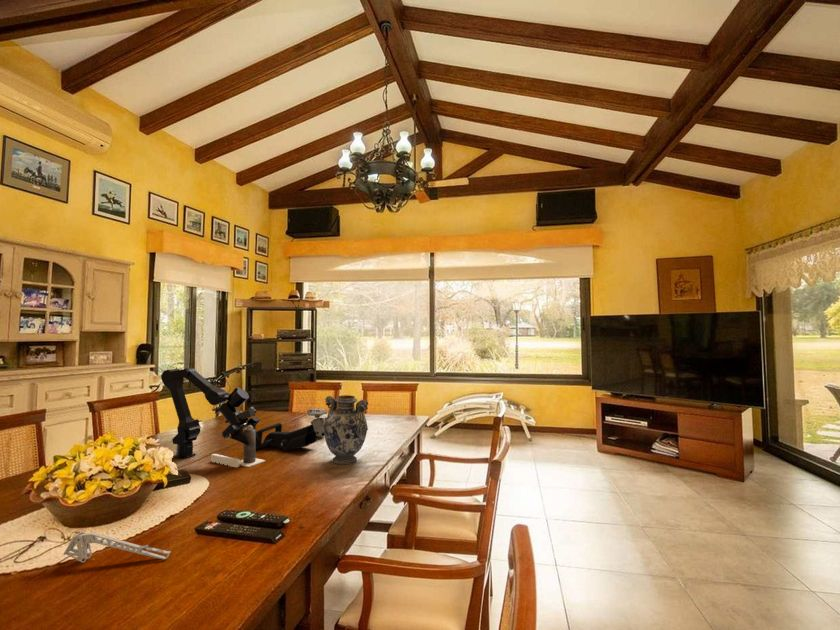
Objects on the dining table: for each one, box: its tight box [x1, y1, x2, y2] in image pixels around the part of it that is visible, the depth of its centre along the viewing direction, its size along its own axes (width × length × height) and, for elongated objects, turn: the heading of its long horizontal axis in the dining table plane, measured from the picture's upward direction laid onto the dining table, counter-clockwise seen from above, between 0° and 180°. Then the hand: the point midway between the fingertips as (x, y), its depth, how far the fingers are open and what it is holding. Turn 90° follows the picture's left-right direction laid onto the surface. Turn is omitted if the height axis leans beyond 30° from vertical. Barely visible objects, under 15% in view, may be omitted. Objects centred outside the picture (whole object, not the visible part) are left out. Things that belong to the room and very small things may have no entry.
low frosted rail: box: [210, 453, 240, 468], centre depth 170 cm, size 15×2×3 cm, turn 64°
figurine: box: [302, 407, 328, 439], centre depth 217 cm, size 9×12×15 cm
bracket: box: [62, 530, 172, 564], centre depth 99 cm, size 3×21×10 cm, turn 95°
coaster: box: [239, 457, 266, 468], centre depth 172 cm, size 9×9×1 cm
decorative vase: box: [323, 394, 369, 465], centre depth 178 cm, size 21×19×28 cm
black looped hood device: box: [256, 422, 318, 452], centre depth 195 cm, size 17×27×15 cm, turn 74°
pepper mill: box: [242, 425, 257, 463], centre depth 173 cm, size 5×5×15 cm
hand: (253, 442), depth 172 cm, fingers open, 6 cm apart
